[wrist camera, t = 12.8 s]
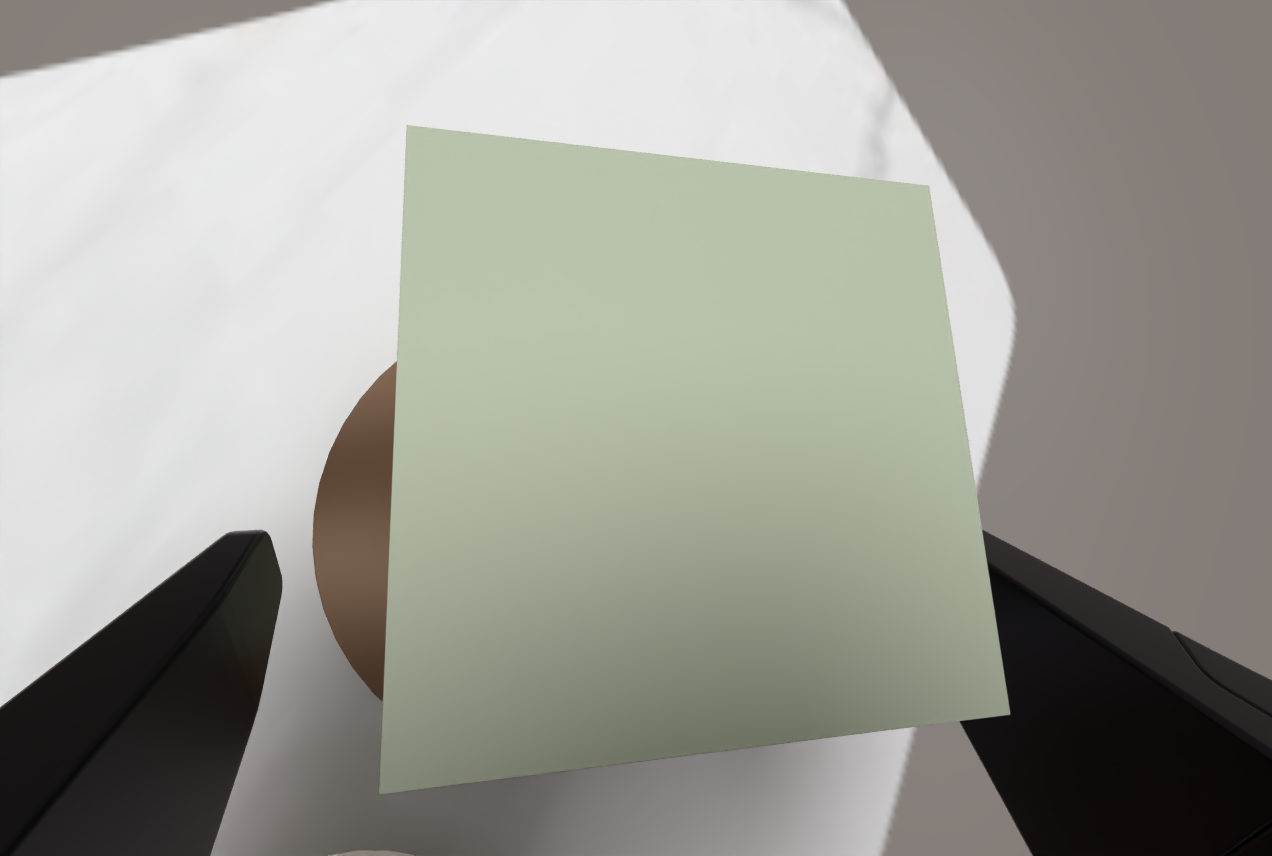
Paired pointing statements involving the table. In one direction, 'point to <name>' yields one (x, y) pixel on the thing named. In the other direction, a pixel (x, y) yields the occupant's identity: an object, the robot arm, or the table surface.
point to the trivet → (358, 530)
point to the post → (670, 465)
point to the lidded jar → (372, 853)
